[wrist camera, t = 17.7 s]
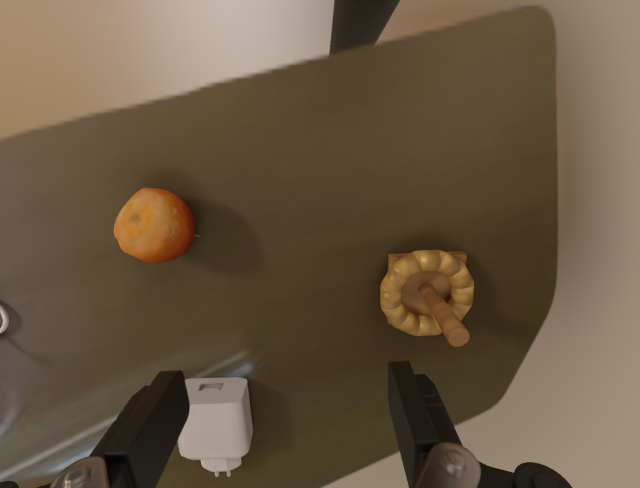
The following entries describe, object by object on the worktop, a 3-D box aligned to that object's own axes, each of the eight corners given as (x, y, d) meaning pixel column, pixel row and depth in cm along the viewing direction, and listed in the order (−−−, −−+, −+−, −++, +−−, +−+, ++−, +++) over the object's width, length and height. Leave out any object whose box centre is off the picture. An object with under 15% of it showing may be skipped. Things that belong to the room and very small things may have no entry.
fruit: (167, 279, 40) (110, 272, 32) (149, 222, 42) (92, 203, 34) (223, 249, 39) (179, 234, 31) (203, 192, 41) (156, 166, 33)
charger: (197, 460, 50) (181, 378, 46) (258, 459, 50) (248, 376, 46) (185, 492, 46) (166, 404, 41) (251, 491, 46) (240, 402, 41)
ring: (378, 250, 39) (382, 257, 37) (471, 244, 39) (481, 251, 36) (379, 330, 42) (382, 341, 40) (465, 326, 42) (473, 337, 40)
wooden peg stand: (387, 254, 40) (412, 295, 30) (462, 251, 40) (514, 291, 29) (386, 319, 43) (408, 379, 32) (456, 317, 43) (501, 376, 32)
